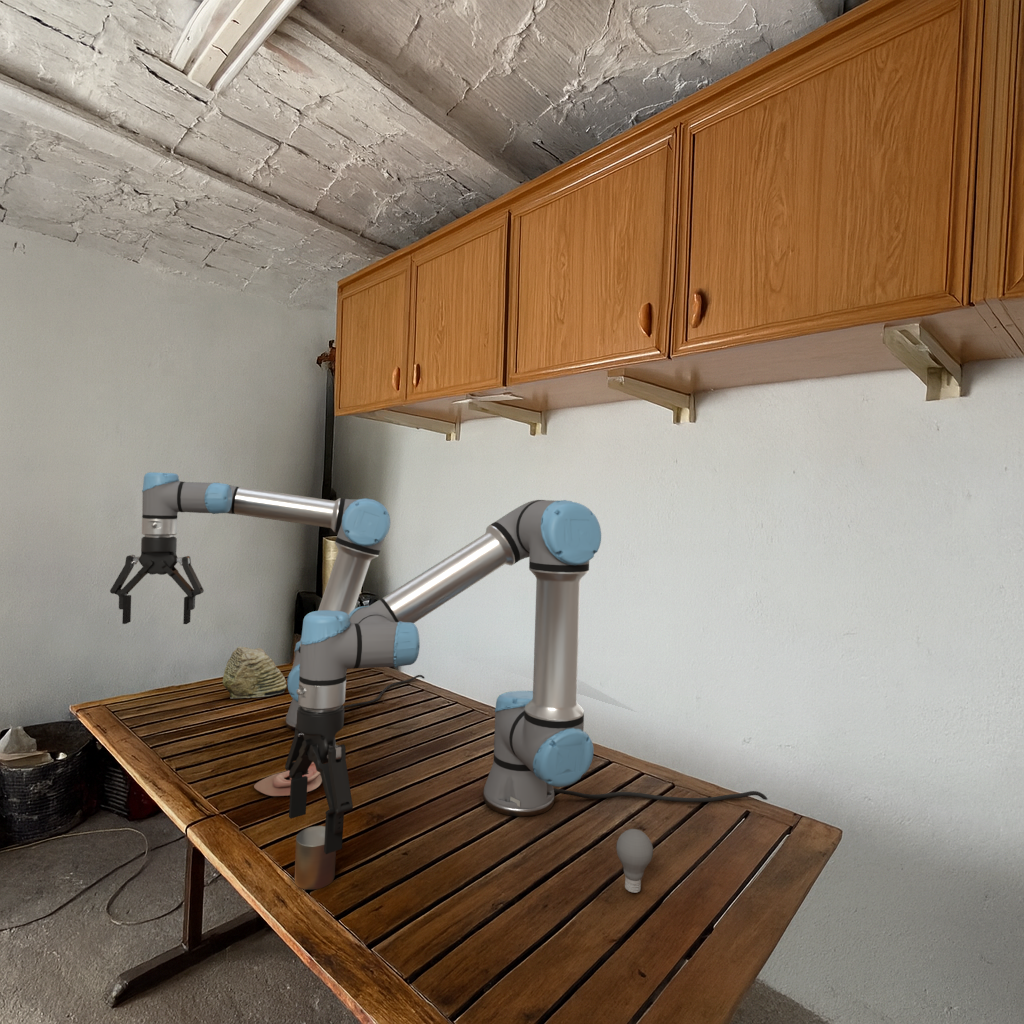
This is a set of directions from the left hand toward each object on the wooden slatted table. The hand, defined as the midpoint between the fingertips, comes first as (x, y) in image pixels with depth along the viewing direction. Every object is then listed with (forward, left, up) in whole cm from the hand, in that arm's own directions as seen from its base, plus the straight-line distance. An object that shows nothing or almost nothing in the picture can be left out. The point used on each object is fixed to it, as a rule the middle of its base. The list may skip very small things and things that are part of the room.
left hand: (156, 623), depth 154 cm
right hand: (+4, +74, -23) cm, 77 cm away
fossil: (-38, -21, -31) cm, 53 cm away
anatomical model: (-11, +41, -31) cm, 53 cm away
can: (+4, +74, -31) cm, 80 cm away
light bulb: (-29, +115, -31) cm, 123 cm away
